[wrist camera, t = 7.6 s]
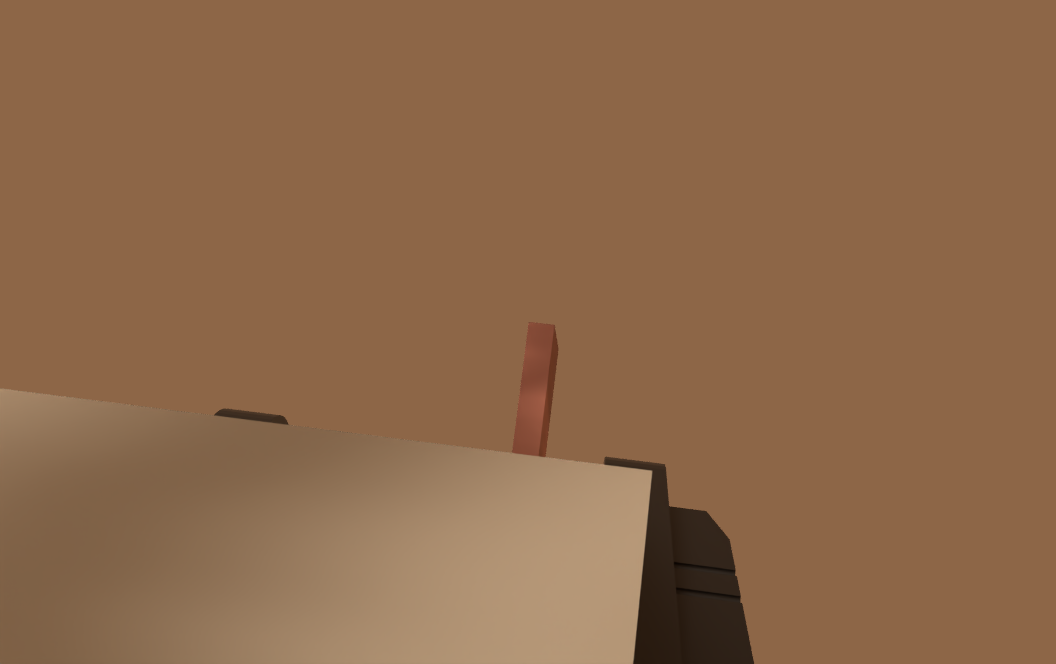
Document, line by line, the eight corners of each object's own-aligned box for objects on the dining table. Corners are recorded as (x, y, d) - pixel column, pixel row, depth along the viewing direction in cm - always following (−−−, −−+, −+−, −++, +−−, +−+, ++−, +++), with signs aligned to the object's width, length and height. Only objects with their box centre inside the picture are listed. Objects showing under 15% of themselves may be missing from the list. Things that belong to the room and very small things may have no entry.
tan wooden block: (-377, 1290, 4) (53, -358, 5) (463, 573, 29) (494, 341, 30) (548, 1505, 3) (731, -325, 5) (575, 589, 29) (601, 354, 30)
